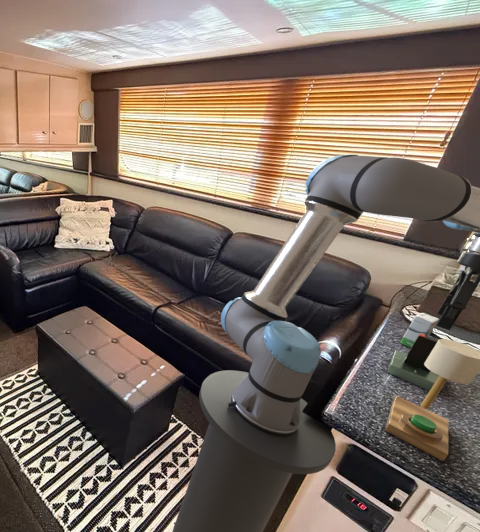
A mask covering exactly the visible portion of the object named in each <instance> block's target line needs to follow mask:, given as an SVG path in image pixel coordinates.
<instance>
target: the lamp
mask: <svg viewBox="0 0 480 532" xmlns="http://www.w3.org/2000/svg"><path fill="white" fill-rule="evenodd" d="M437 340H438V342H437V343H436V345H435V347H434V348H433V350H432V351H431V353H430V355H429V356H428V358H427V360H426V361H425V363H424V365H425V366H426V367H427V368H428V369H429V370H430V371H432V372H433V373H435V374H437V375H439V378H438V379H437V381H436V382H435V384H434V385H433V387H432V388H431V390H430V391H429V390H428V393H427V394H426V396H425V397H424V398H423V400H422V402H421V403H420V407H421V408H424V409H426V410H429V408H430V407H431V405H432V404H433V402H434V401H435V400H436V398H437V396H438V395H439V393H440V392H441V390H442V389H443V388H444V386H445V384H446V383H447V381H451V382H454V383H456V384H461V385H471V384H472V383H473V382H474V380H475V379H476V377H477V376H478V374H479V373H480V350H479V349H477V348H475V347H472V346H470V345H468V344H465V343H462V342H459V341H455V340H452V339H448V338H439V339H437Z"/></svg>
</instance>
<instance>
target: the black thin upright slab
mask: <svg viewBox="0 0 480 532" xmlns="http://www.w3.org/2000/svg"><path fill="white" fill-rule="evenodd" d="M438 340H439V339H436V338H432V337H430V336H428V337H427V336H425V335H423V334H419V336H418V337H417V339H416V341H415V342H414V344H413V346H412V348H411V347H410V349H409V351H408V352H407V353H406V354H407V356H406V358H405V359H404V362H405V363H408V364H410V365H412V366H415V367H417V368H420V369H422V370H425V371H427V372H430V370H429V369H428V368H427V367H426V366H425V365H424V363H425V361H426V360H427V358H428V356H429V355H430V353H431V351H432V350H433V348H434V347H435V345H436V343H437V342H438Z"/></svg>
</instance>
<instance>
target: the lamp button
mask: <svg viewBox="0 0 480 532" xmlns="http://www.w3.org/2000/svg"><path fill="white" fill-rule="evenodd" d="M410 422H411V424H413V425H414V426H415V427H417V428H418V429H420V430H422V431H424V432H427V433H430V434H432V433H433V432H434V431H435V429H436V428H437V426H436V424H435V423H434V422H433V421H431V420H430V419H428V418H426V417H424V416H421V415H417V414H415V415H413V417H412V418H411V420H410Z"/></svg>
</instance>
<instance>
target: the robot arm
mask: <svg viewBox="0 0 480 532" xmlns="http://www.w3.org/2000/svg"><path fill="white" fill-rule="evenodd" d="M305 186H306V187H305V193H306V196H307V197H306V198H305V199H304V201H303V203H304V207H305V212H304V213H303V215H302V216H301V218H300V219H299V221H298V223H297V224H296V225H295V226H294V228H293V230H292V231H291V232H290V235H289V236H288V238H287V239H286V241H285V242H284V243H283V245H282V247H281V248H280V250H279V251H278V252H277V254H276V255H275V257H274V258H273V260H272V262H271V263H270V264H269V266H268V268H267V269H266V270H265V272H264V274H263V275H262V277H261V278H260V280H259V281H258V283H257V285H256V286H255V287H254V289H253V290H251V291H246V292H244V293H243V295H242V296H241V297H235V298H234V299H233V300H230V301H228V302H227V303H226V304H225V306H224V307H223V309H222V311H221V313H220V324H221V327H222V329H223V330H224V331H225V333H226V335H227V337H228V338H229V339H231V340H232V342H234V343H235V344H236V345H237V346H238V348H240V349H241V351H243V353H244V354H245V355H246V356H247V357H248V358H249V359H250V360H251V363H252V364H251V365H250V369H249V372H248V373H249V374H248V376H247V377H246V378H245V379H244V380H243V381H242V382H241V383H240V384H239V385H238V386H237V387H236V388H235V389H234V391H233V394H232V397H231V401H232V402H230V403H228V405H229V407H231V406H233V407H234V409H235V410H236V412H237V413H238V414H239V415H240V416H241V417H242V418H243V419H244V420H245V421H246V422H248V423H249V424H251V425H252V426H254V427H255V428H257V429H259V430H261V431H263V432H266V433H268V434H272V435H276V436H290V435H292V434H294V433H295V432H296V431H297V429H298V427H299V423H300V416H301V412H300V399H301V398H302V397H303V395H304V393H305V391H306V388H307V386H308V385H309V383H310V380H311V378H312V376H313V374H314V372H315V371H316V369H317V367H318V364H319V360H320V357H321V354H322V353H321V352H322V347H321V345H320V343H319V342H318V340H317V338H316V337H314V336H313V335H312V334H311V333H310V332H308V330H305V329H304V328H302V327H301V326H300V327H299V326H297V325H296V324H294V323H292V322H289V321H286V320H287V319H288V317H289V315H288V311H287V307H288V306H289V304H290V302H291V301H292V300H293V298H295V296H296V294H297V292H298V291H299V290H300V288H301V287H302V286H303V284H304V283H305V281H306V280H307V278H308V277H309V276H310V274H312V272H313V270H314V268H315V267H316V266H317V264H318V263H319V261H320V260H321V259H322V257H324V255H325V253H326V252H327V251H328V249H329V248H330V246H331V245H332V243H333V242H334V241H335V239H336V238H337V236H338V235H339V234H340V232H341V231H342V229H343V228H344V227H345V226H346V225H350V224H353V223H356V222H358V220H359V219H360V217H362V214H363V213H368V214H374V215H380V216H387V217H398V218H405V219H406V218H407V219H414V220H419V221H422V222H428V223H429V222H430V223H436V222H441V221H442V222H443V224H444V225H445V226H446V227H447V228H450V229H453V230H456V231H457V230H459V231H462V232H463V231H467V232H473V234H472V237H471V238H467V239H466V240H465V241H466V242H467V245H466V247H465V249H466V250H465V251H462V253H461V254H460V256H459V258H458V259H457V264H459V265H461V266H463V267H464V269H463V270H461V271H460V272H459V274H458V277H457V278H456V281H455V282H454V283H453V285H452V287H451V288H450V289H449V292H448V294H447V295H446V297H445V299H444V301H443V302H442V304H441V306H440V307H439V309H438V311H437V313H436V314H437V315H440V318H438V319H439V320H438V322H437V324H436V325H435V327H437V328H440V329H443V330H444V329H445V330H447V331H451V329H452V328H453V326H454V325H455V323H456V322H457V319H458V318H459V317H460V315H461V313H462V311H463V310H465V309H467V305H468V303H469V301H470V300H471V298H472V296H473V295H474V293H475V291H476V289H477V288H478V286H479V284H480V187H477V186H474V185H472V184H471V182H470V181H469V180H468V179H467V178H465V177H464V176H461V175H459V174H455V173H452V172H449V171H446V170H443V169H441V168H438V167H436V166H435V167H434V166H432V165H429V164H426V163H424V162H420V161H417V160H412V159H408V158H404V157H403V158H402V157H386V156H371V155H358V154H345V155H344V154H343V155H334V156H331V157H329V158H326V159H324V160H323V161H321V162H320V163H318V164H317V165H315V167H314V168H313V169H312V170H311V171H310V172H309V174H308V176H307V178H306V181H305Z"/></svg>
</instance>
